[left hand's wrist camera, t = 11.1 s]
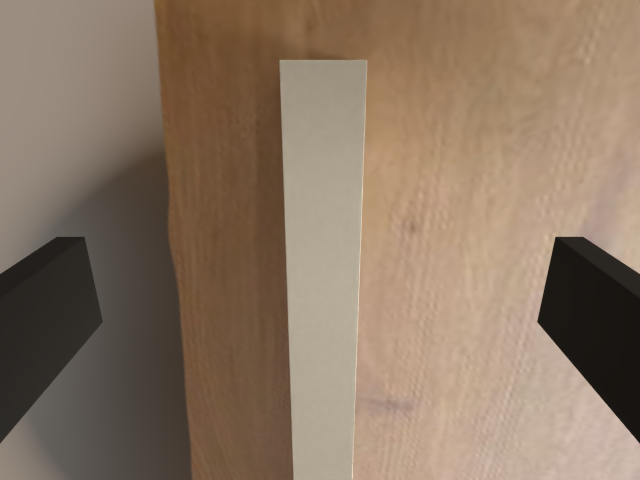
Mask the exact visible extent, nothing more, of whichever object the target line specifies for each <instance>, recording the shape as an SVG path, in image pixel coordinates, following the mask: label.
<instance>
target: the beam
mask: <svg viewBox="0 0 640 480" xmlns="http://www.w3.org/2000/svg"><path fill="white" fill-rule="evenodd" d="M279 65H280V95H281V125H282V155H283V185H284V216H285V246H286V276H287V306H288V336H289V366H290V396H291V426H292V456H293V480H352V470H353V442H354V414H355V386H356V358H357V330H358V302H359V274H360V246H361V218H362V190H363V162H364V134H365V107H366V79H367V60H280V61H279Z"/></svg>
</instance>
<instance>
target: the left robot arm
mask: <svg viewBox="0 0 640 480" xmlns="http://www.w3.org/2000/svg"><path fill="white" fill-rule="evenodd" d="M102 322H103V321H102V316H101V312H100V307H99V303H98V298H97V293H96V289H95V284H94V279H93V275H92V270H91V265H90V261H89V256H88V251H87V247H86V242H85V238H84V237H56V238H55V239H53V240H51V241H50V242H48V243H47V244H45V245H44V246H42V247H41V248H39V249H38V250H36V251H35V252H33V253H32V254H30V255H29V256H27V257H26V258H24V259H23V260H21V261H19V262H18V263H16V264H15V265H13V266H12V267H10V268H9V269H7V270H6V271H4V272H3V273H1V274H0V443H1V442H2V441H3V439H4V438H5V437H6V436H7V435H8V434H9V432H10V431H11V430H12V429H13V428H14V426H15V425H16V424H17V423H18V422H19V421H20V419H21V418H22V417H23V416H24V415H25V413H26V412H27V411H28V410H29V409H30V407H31V406H32V405H33V404H34V403H35V401H36V400H37V399H38V398H39V397H40V396H41V394H42V393H43V392H44V391H45V390H46V389H47V387H48V386H49V385H50V384H51V383H52V381H53V380H54V379H55V378H56V377H57V375H58V374H59V373H60V372H61V371H62V369H63V368H64V367H65V366H66V365H67V364H68V362H69V361H70V360H71V359H72V358H73V356H74V355H75V354H76V353H77V352H78V351H79V349H80V348H81V347H82V346H83V345H84V343H85V342H86V341H87V340H88V339H89V337H90V336H91V335H92V334H93V333H94V332H95V330H96V329H97V328H98V327H99V326H100V325H101V323H102ZM537 322H538V323H539V325H540V326H541V327H542V328H543V329H544V330H545V332H546V333H547V334H548V335H549V336H550V338H551V339H552V340H553V341H554V342H555V343H556V345H557V346H558V347H559V348H560V349H561V351H562V352H563V353H564V354H565V355H566V357H567V358H568V359H569V360H570V361H571V362H572V364H573V365H574V366H575V367H576V368H577V370H578V371H579V372H580V373H581V374H582V375H583V377H584V378H585V379H586V380H587V381H588V383H589V384H590V385H591V386H592V387H593V389H594V390H595V391H596V392H597V393H598V394H599V396H600V397H601V398H602V399H603V400H604V402H605V403H606V404H607V405H608V406H609V407H610V409H611V410H612V411H613V412H614V413H615V415H616V416H617V417H618V418H619V419H620V421H621V422H622V423H623V424H624V425H625V426H626V428H627V429H628V430H629V431H630V432H631V434H632V435H633V436H634V437H635V438H636V439H637V441H638V442H639V443H640V274H639V273H637V272H636V271H634V270H633V269H631V268H630V267H628V266H627V265H625V264H624V263H622V262H621V261H619V260H617V259H616V258H614V257H613V256H611V255H610V254H608V253H607V252H605V251H604V250H602V249H601V248H599V247H598V246H596V245H595V244H593V243H592V242H590V241H589V240H587V239H585V238H584V237H555V242H554V247H553V251H552V256H551V261H550V265H549V270H548V275H547V279H546V284H545V289H544V293H543V298H542V303H541V307H540V312H539V316H538V321H537Z"/></svg>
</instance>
